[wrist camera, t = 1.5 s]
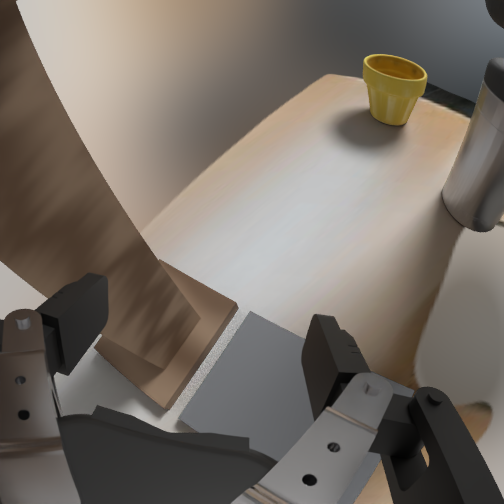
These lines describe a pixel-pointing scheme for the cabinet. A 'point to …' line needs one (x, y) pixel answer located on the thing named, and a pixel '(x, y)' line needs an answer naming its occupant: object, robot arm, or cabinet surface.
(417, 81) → the plant pot
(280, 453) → the rubber mat
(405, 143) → the cabinet surface
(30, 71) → the walnut stand
